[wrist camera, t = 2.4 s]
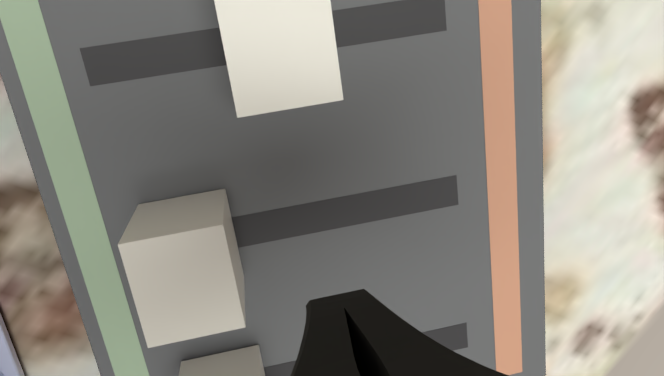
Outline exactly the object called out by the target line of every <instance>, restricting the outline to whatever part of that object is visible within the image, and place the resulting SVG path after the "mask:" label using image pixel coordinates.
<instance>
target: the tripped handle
mask: <svg viewBox="0 0 664 376" xmlns="http://www.w3.org/2000/svg"><path fill="white" fill-rule="evenodd" d="M214 2H215V7H216V12H217V18H218V23H219V28H220V33H221V38H222V43H223V48H224V53H225V58H226V63H227V68H228V73H229V78H230V83H231V88H232V93H233V98H234V104H235V109H236V114H237V118H240V117H246V116H252V115H258V114H264V113H269V112H275V111H281V110H287V109H293V108H299V107H305V106H311V105H317V104H323V103H329V102H335V101H341V100H343V92H342V84H341V77H340V69H339V62H338V54H337V46H336V39H335V31H334V24H333V16H332V9H331V1H330V0H214Z"/></svg>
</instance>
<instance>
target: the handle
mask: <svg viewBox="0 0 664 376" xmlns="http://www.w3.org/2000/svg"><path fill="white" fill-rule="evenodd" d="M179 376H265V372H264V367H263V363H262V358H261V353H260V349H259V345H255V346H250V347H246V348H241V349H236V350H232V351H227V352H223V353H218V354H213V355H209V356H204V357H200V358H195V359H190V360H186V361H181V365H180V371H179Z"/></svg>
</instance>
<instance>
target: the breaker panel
mask: <svg viewBox="0 0 664 376" xmlns="http://www.w3.org/2000/svg"><path fill="white" fill-rule="evenodd" d="M330 1H331V9H332V16H333V24H334V31H335V39H336V46H337V54H338V62H339V69H340V77H341V84H342V92H343V100H341V101H335V102H329V103H323V104H317V105H311V106H305V107H299V108H293V109H287V110H281V111H275V112H269V113H264V114H258V115H252V116H246V117H240V118H237V114H236V109H235V104H234V98H233V93H232V88H231V83H230V78H229V73H228V68H227V63H226V58H225V53H224V48H223V43H222V38H221V33H220V28H219V23H218V18H217V12H216V7H215V2H214V0H0V73H1V76H2V79H3V82H4V85H5V88H6V91H7V94H8V97H9V100H10V103H11V106H12V109H13V112H14V115H15V118H16V122H17V125H18V128H19V131H20V134H21V137H22V140H23V143H24V146H25V149H26V152H27V155H28V158H29V161H30V164H31V167H32V170H33V173H34V176H35V179H36V182H37V185H38V188H39V191H40V194H41V197H42V200H43V203H44V206H45V209H46V212H47V215H48V218H49V221H50V224H51V227H52V230H53V233H54V236H55V239H56V242H57V245H58V248H59V251H60V254H61V257H62V260H63V263H64V266H65V269H66V272H67V275H68V278H69V281H70V284H71V287H72V290H73V293H74V296H75V299H76V302H77V305H78V308H79V311H80V314H81V317H82V320H83V323H84V326H85V329H86V332H87V335H88V338H89V341H90V344H91V347H92V350H93V353H94V356H95V359H96V362H97V365H98V368H99V371H100V375H101V376H179V371H180V365H181V361H186V360H190V359H195V358H200V357H204V356H209V355H213V354H218V353H223V352H227V351H232V350H236V349H241V348H246V347H250V346H255V345H259V349H260V353H261V358H262V363H263V367H264V372H265V376H291V373H292V370H293V368H294V365H295V362H296V359H297V356H298V353H299V349H300V346H301V342H302V338H303V334H304V329H305V323H306V305H307V303H308V302H309V301H310V300H313V299H317V298H322V297H327V296H332V295H336V294H341V293H346V292H351V291H356V290H360V289H365V290H366V291H368V292H369V293H370V294H371V295H373V296H374V297H375V298H376V299H378V300H379V301H380V302H381V303H382V304H384V305H385V306H386V307H387V308H389V309H390V310H391V311H393V312H394V313H395V314H396V315H398V316H399V317H400V318H402V319H403V320H405V321H406V322H407V323H409V324H410V325H412V326H413V327H414V328H416V329H417V330H419V331H420V332H422V333H423V334H425V335H426V336H428V337H430V338H431V339H433V340H435V341H436V342H438V343H440V344H441V345H443V346H445V347H447V348H448V349H450V350H452V351H454V352H456V353H458V354H460V355H462V356H464V357H466V358H468V359H470V360H473V361H475V362H477V363H479V364H481V365H483V366H486V367H488V368H490V369H493V370H495V371H498V372H500V373H503V374H506V375H509V376H545V375H546V365H545V289H544V213H543V137H542V61H541V0H330ZM220 189H225V190H226V194H227V199H228V204H229V208H230V213H231V218H232V222H233V227H234V232H235V236H236V241H237V246H238V250H239V255H240V260H241V264H242V269H243V274H244V290H245V321H246V327H245V328H240V329H236V330H231V331H226V332H222V333H217V334H212V335H208V336H203V337H198V338H193V339H189V340H184V341H179V342H175V343H170V344H165V345H161V346H156V347H151V348H148V347H147V343H146V340H145V336H144V333H143V330H142V326H141V323H140V319H139V316H138V313H137V309H136V306H135V302H134V299H133V295H132V292H131V289H130V285H129V282H128V278H127V275H126V272H125V268H124V265H123V261H122V258H121V254H120V251H119V248H118V243H119V241H120V239H121V237H122V235H123V233H124V231H125V229H126V227H127V225H128V223H129V222H130V220H131V218H132V216H133V214H134V212H135V210H136V208H137V206H138V204H143V203H148V202H154V201H159V200H165V199H170V198H176V197H181V196H187V195H192V194H198V193H203V192H209V191H214V190H220Z"/></svg>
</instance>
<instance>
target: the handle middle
mask: <svg viewBox="0 0 664 376" xmlns="http://www.w3.org/2000/svg"><path fill="white" fill-rule="evenodd" d="M118 248H119V251H120V254H121V258H122V261H123V265H124V268H125V272H126V275H127V278H128V282H129V285H130V289H131V292H132V295H133V299H134V302H135V306H136V309H137V313H138V316H139V319H140V323H141V326H142V330H143V333H144V336H145V340H146V343H147V347H148V348H151V347H156V346H161V345H165V344H170V343H175V342H179V341H184V340H189V339H193V338H198V337H203V336H208V335H212V334H217V333H222V332H226V331H231V330H236V329H240V328H245V327H246V321H245V290H244V274H243V269H242V264H241V260H240V255H239V250H238V246H237V241H236V236H235V232H234V227H233V222H232V218H231V213H230V208H229V204H228V199H227V194H226V190H225V189H220V190H214V191H209V192H203V193H198V194H192V195H187V196H181V197H176V198H170V199H165V200H159V201H154V202H148V203H143V204H138V206H137V208H136V210H135V212H134V214H133V216H132V218H131V220H130V222H129V223H128V225H127V227H126V229H125V231H124V233H123V235H122V237H121V239H120V241H119V243H118Z"/></svg>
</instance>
